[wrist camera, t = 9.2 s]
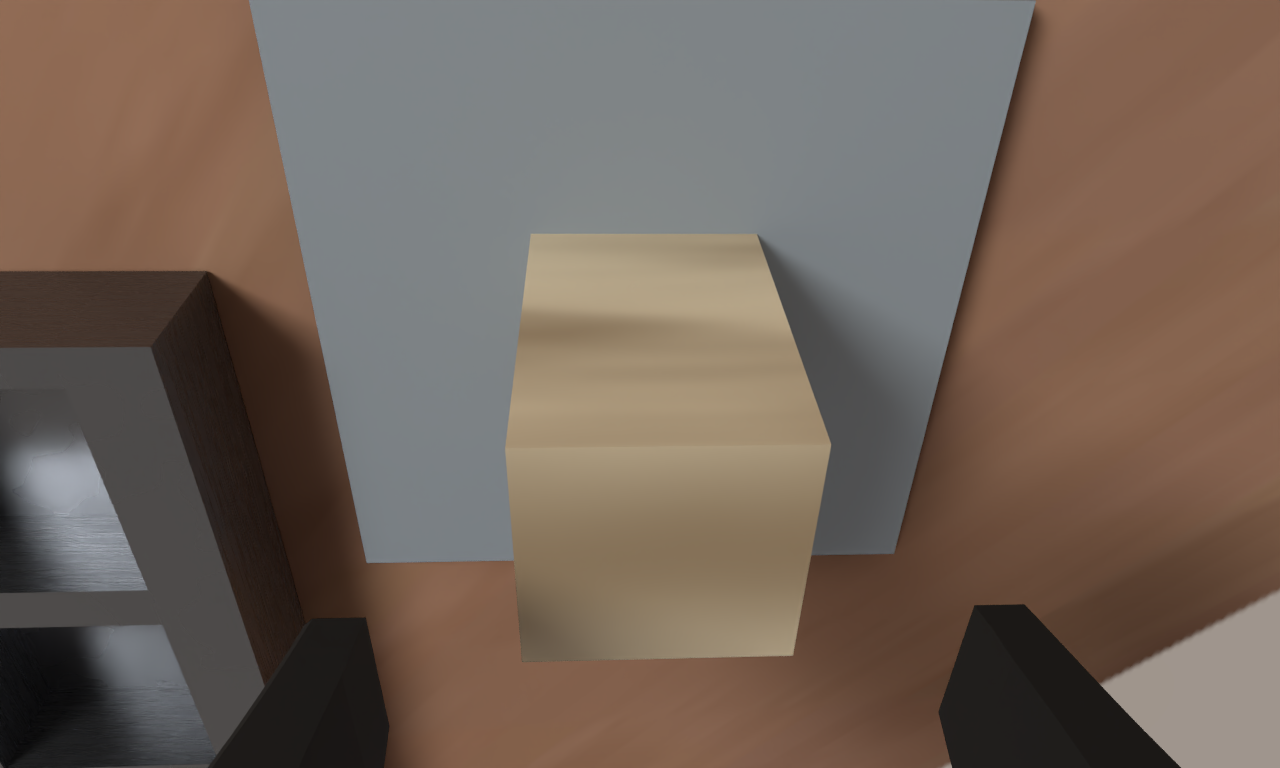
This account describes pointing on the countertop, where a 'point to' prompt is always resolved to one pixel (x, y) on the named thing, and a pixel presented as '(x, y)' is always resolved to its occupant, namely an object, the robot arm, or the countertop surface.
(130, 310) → the tray
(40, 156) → the countertop surface
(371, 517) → the mat
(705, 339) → the peg
